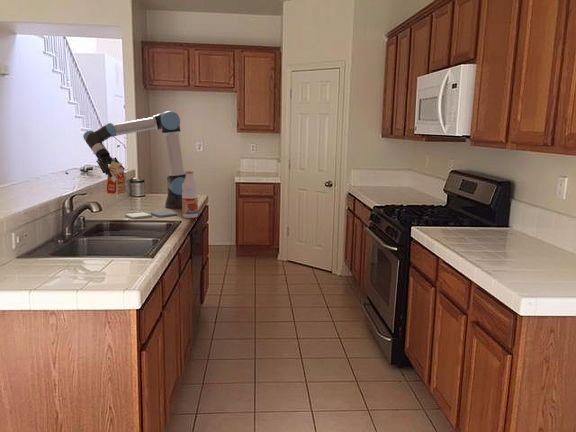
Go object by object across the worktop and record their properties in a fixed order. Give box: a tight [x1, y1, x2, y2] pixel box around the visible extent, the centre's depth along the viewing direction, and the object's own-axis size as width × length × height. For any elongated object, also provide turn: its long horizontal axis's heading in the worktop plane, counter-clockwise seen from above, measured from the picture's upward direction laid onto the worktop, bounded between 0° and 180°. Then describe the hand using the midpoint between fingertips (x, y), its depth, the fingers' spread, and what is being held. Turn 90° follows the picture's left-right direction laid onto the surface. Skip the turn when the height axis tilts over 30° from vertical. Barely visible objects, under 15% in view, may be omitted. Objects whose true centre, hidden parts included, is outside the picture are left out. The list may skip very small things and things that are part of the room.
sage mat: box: [124, 211, 153, 220], centre depth 298 cm, size 12×12×1 cm
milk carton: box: [105, 161, 127, 196], centre depth 293 cm, size 9×9×20 cm
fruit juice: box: [181, 170, 199, 219], centre depth 297 cm, size 9×9×28 cm
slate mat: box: [150, 210, 178, 218], centre depth 304 cm, size 12×12×1 cm
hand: (120, 180), depth 292 cm, fingers closed on milk carton, 8 cm apart
